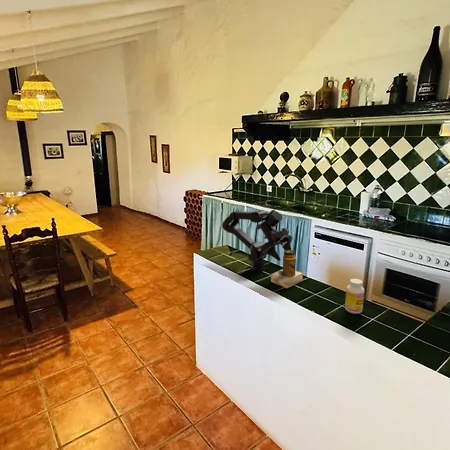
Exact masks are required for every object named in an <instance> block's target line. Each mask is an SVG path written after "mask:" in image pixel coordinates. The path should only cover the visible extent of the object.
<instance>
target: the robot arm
mask: <svg viewBox="0 0 450 450" xmlns="http://www.w3.org/2000/svg"><path fill="white" fill-rule="evenodd" d="M240 220H246V221H247V220H249V221H250V222H252V223H254V224H257V227H256V230H261V231H262V233H263V235H264V237H263V238H264V239H265V240H267V241H266V242H264V243H263V242H262V241H255V240H254V239H253V238H252V237H251V236H249V234H247V232H245V231H244V230H242V228H240V225H239V222H240ZM282 220H283V215H282V213H280V212H278V211H276V209H271V210H270V212H269V213H268V212H266V210H264V209H261V210H257V211H239V210H235V211H232V212H230V214H229V215H228V216H227V217H226V218H225V219H224V220H223V221H222V223H221V224H222V225H221V226H222V229H223V230H224V231H225V232H227V233H229V234H233V235H234V236H235V237H236V238H237V239H238V240H239V241H240V242H241V243H243V244H244V245H245V246H246V247H247V248H248V249H249V254H248V256H247V257H248V260H249V261H251V263H250V265H251V267H250V268H248V270H250V271H253V272H255V273H260V272H265V271H266V270H267V269H266V268H265V262H264V260H265V259H266V258H267V256H268V255H269V256H271V257H272V258H273V259H275V260H277V261H279V262H281V257H280V255H279V253H278V252H277V250H276V246H279V245H280V246H281V248H282V249H283V251H285V250H292V247H291V243H292V242H293V237H292V235H290V234H289V233H290V230H289V229H288V228H287V227H286V226H285V227H283V228H281V230H278V229H275V228H276V226H277V225H278V224H279V223H281V221H282ZM274 227H275V228H274Z"/></svg>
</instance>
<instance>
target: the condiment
mask: <svg viewBox="0 0 450 450" xmlns="http://www.w3.org/2000/svg"><path fill="white" fill-rule="evenodd" d="M296 262H297V258H296V251H295V250H292V249H291V250H283V257H282V269H283V271H280V270H277V271H278V274H279V277H297V276H296V273H295V271H296V269H297V267H296Z"/></svg>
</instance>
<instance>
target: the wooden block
mask: <svg viewBox="0 0 450 450" xmlns="http://www.w3.org/2000/svg"><path fill="white" fill-rule="evenodd" d="M278 271H283V268H282V269H280V270H277V271H275V272H272V273H271V274H270V282H271V283H274V284H275V285H277V286H281V287H283V288H285V289H288V288H290V287H292V286H293V287H294V286H295V285H297V284H299V283H301V282H303V279H304V277H303V276H304V273H303V272H300V271H298V270H295V273H296V276H297V277H279V274H278Z"/></svg>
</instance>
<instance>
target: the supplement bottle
mask: <svg viewBox="0 0 450 450" xmlns="http://www.w3.org/2000/svg"><path fill="white" fill-rule="evenodd" d="M364 298H365V288H364V287H363V280H361V279H359V278H351V279H350V280H349V285H347V287H346V292H345V304H344V308H345V310H346V311H347V312H348V313H350V314H355V315H356V314H361V313H362V312H363V309H364V300H365V299H364Z"/></svg>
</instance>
